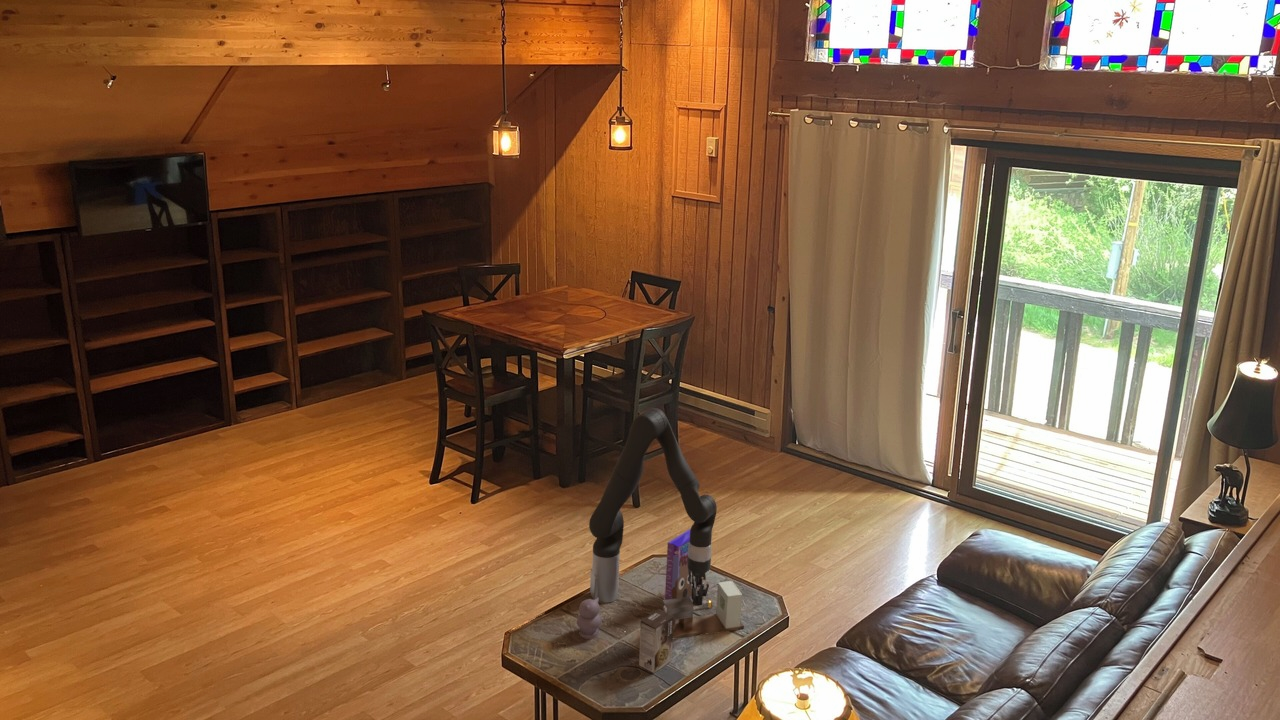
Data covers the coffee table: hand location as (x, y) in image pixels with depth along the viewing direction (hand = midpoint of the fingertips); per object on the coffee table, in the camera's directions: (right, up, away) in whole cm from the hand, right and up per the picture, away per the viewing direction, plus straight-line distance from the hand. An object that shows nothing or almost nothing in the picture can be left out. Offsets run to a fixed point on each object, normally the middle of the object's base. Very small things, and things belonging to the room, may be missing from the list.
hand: (696, 601), depth 328 cm
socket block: (+11, -9, +6) cm, 15 cm away
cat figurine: (-35, -10, -3) cm, 37 cm away
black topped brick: (-3, -3, 0) cm, 4 cm away
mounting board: (+2, -9, +4) cm, 10 cm away
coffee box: (-14, -15, -17) cm, 27 cm away
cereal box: (-3, -4, +21) cm, 22 cm away
